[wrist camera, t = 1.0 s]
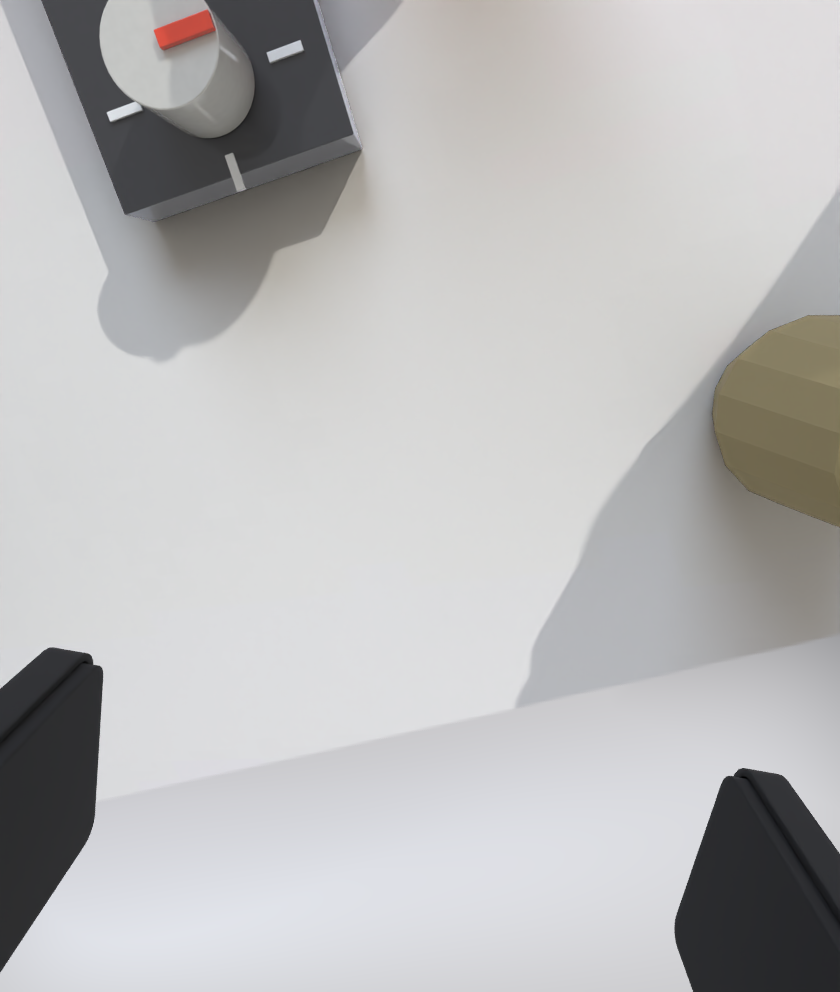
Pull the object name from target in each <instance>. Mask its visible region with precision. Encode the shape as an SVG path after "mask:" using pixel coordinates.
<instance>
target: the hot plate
mask: <svg viewBox="0 0 840 992" xmlns="http://www.w3.org/2000/svg"><path fill="white" fill-rule="evenodd" d="M107 2H108V0H42V3H43V5H44V8H45V11H46V13H47V16H48V18H49V21H50V23H51V26H52V29H53V31H54V34H55V36H56V39H57V41H58V44H59V46H60V49H61V52H62V54H63V57H64V59H65V62H66V64H67V67H68V70H69V72H70V75H71V77H72V80H73V82H74V85H75V88H76V90H77V93H78V95H79V98H80V100H81V103H82V106H83V108H84V111H85V113H86V116H87V118H88V121H89V124H90V126H91V129H92V131H93V134H94V136H95V139H96V141H97V144H98V147H99V149H100V152H101V154H102V157H103V159H104V162H105V165H106V167H107V170H108V172H109V175H110V177H111V180H112V183H113V185H114V188H115V190H116V193H117V195H118V198H119V201H120V203H121V206H122V208H123V211H124V213H125V215H129V216H133V217H137V218H141V219H144V220H148V221H152V222H156V221H159V220H161V219H164V218H167V217H170V216H173V215H176V214H179V213H181V212H184V211H187V210H190V209H193V208H196V207H199V206H201V205H204V204H207V203H210V202H213V201H216V200H219V199H221V198H224V197H227V196H230V195H233V194H236V193H239V192H241V191H244V190H247V189H250V188H253V187H256V186H259V185H262V184H264V183H267V182H270V181H273V180H276V179H279V178H282V177H284V176H287V175H290V174H293V173H296V172H299V171H302V170H304V169H307V168H310V167H313V166H316V165H319V164H322V163H324V162H327V161H330V160H333V159H336V158H339V157H342V156H344V155H347V154H350V153H353V152H356V151H359V150H361V149H362V145H361V141H360V138H359V135H358V132H357V128H356V125H355V122H354V118H353V115H352V112H351V108H350V105H349V102H348V98H347V95H346V92H345V88H344V85H343V82H342V78H341V75H340V72H339V68H338V65H337V62H336V58H335V55H334V52H333V49H332V45H331V42H330V39H329V35H328V32H327V29H326V25H325V22H324V19H323V15H322V12H321V9H320V5H319V2H318V0H205V2H206V3H207V4H208V5H209V6H210V8H211V9H212V10H213V11H214V12H215V14H216V15H217V16H218V17H219V18H220V20H221V21H222V22H223V23H224V25H225V26H226V27H227V28H228V29H229V31H230V32H231V33H232V34H233V35H234V37H235V38H236V39H237V40H238V41H239V43H240V44H241V45H242V47H243V48H244V50H245V51H246V53H247V55H248V57H249V59H250V62H251V64H252V68H253V72H254V79H255V89H254V97H253V102H252V105H251V108H250V110H249V112H248V114H247V116H246V117H245V119H244V120H243V121H242V122H241V123H240V125H239V126H238V127H236V128H235V129H234V130H232V131H231V132H229V133H228V134H225V135H223V136H220V137H216V138H199V137H195V136H192V135H189V134H187V133H185V132H183V131H182V130H180V129H178V128H177V127H175V126H174V125H172V124H170V123H169V122H167V121H165V120H164V119H162V118H161V117H159V116H157V115H156V114H154V113H153V112H151V111H149V110H148V109H146V108H145V107H143V106H141V105H140V104H138V103H137V102H135V101H133V100H132V99H130V98H129V97H128V96H127V95H126V94H124V93H123V92H122V91H121V89H120V88H119V87H118V86H117V85H116V83H115V82H114V81H113V79H112V78H111V76H110V74H109V72H108V70H107V68H106V66H105V63H104V60H103V57H102V52H101V47H100V37H99V36H100V23H101V18H102V14H103V11H104V8H105V6H106V4H107Z"/></svg>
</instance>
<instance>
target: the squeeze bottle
mask: <svg viewBox="0 0 840 992" xmlns="http://www.w3.org/2000/svg"><path fill="white" fill-rule="evenodd" d="M712 416H713V423H714V429H715V434H716V437H717V440H718V443H719V447H720V450H721V453H722V456H723V460H724V463H725V465H726V467H727V468H728V469H729V470H730V471H731V472H732V473H733V474H734V475H735V476H736V478H737V479H738V480H739V481H740V482H741V483H742V484H743V485H744V486H745V487H746V488H747V490H748V491H751V492H753V493H755V494H758V495H760V496H762V497H765V498H767V499H769V500H772V501H774V502H776V503H779V504H781V505H784V506H786V507H789V508H791V509H794V510H796V511H799V512H802V513H804V514H807V515H809V516H812V517H814V518H817V519H820V520H822V521H825V522H827V523H830V524H832V525H835V526H837V527H840V315H808V316H805V317H803V318H800V319H798V320H795V321H793V322H790V323H788V324H785V325H783V326H780V327H778V328H775V329H772V330H770V331H768V332H767V333H766V334H765V335H763V336H762V337H761V338H759V339H758V340H757V341H756V342H754V343H753V344H752V345H751V346H749V347H748V348H747V349H746V350H745V351H743V352H742V353H741V354H740V355H739V356H738V357H737V358H736V359H734V360H733V361H732V362H731V363H730V364H729V365H728V366H727V367H726V369H725V371H724V373H723V375H722V377H721V379H720V381H719V382H718V384H717V386H716V388H715V393H714V402H713V411H712Z"/></svg>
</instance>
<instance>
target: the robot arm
mask: <svg viewBox="0 0 840 992" xmlns="http://www.w3.org/2000/svg"><path fill="white" fill-rule="evenodd" d="M102 686H103V670H102V668H101V667H100V666H97V665H93V659H92V656H91V655H90V654H87V653H82V652H76V651H70V650H64V649H59V648H48V649H46V650H44V651H43V652H42V653H41V654H40V655H39V656H37V657H36V658H35V659H34V660H33V661H32V662H31V663H29V664H28V665H27V666H26V667H25V668H24V669H22V670H21V671H20V672H19V673H18V674H17V675H16V676H14V677H13V678H12V679H11V680H10V681H9V682H8V683H6V684H5V685H4V686H3V687H2V688H1V689H0V972H1V970H2V969H3V967H4V966H5V964H6V963H7V961H8V960H9V958H10V957H11V955H12V954H13V952H14V951H15V949H16V948H17V946H18V945H19V943H20V942H21V940H22V939H23V937H24V936H25V934H26V933H27V931H28V930H29V928H30V927H31V925H32V924H33V922H34V921H35V919H36V918H37V916H38V915H39V913H40V912H41V910H42V909H43V907H44V906H45V904H46V903H47V901H48V900H49V898H50V897H51V895H52V893H53V892H54V890H55V889H56V888H57V886H58V884H59V883H60V881H61V880H62V878H63V877H64V875H65V874H66V872H67V871H68V869H69V868H70V866H71V865H72V863H73V862H74V860H75V859H76V857H77V856H78V854H79V853H80V851H81V850H82V848H83V847H84V845H85V843H86V842H87V840H88V838H89V835H90V833H91V830H92V827H93V823H94V817H95V803H96V786H97V770H98V753H99V736H100V720H101V703H102ZM675 939H676V944H677V948H678V951H679V953H680V956H681V959H682V962H683V965H684V967H685V970H686V973H687V976H688V978H689V981H690V984H691V987H692V990H693V992H840V854H839V852H838V851H837V849H836V848H835V847H834V845H833V844H832V842H831V841H830V840H829V838H828V837H827V836H826V834H825V833H824V831H823V830H822V828H821V827H820V826H819V824H818V823H817V821H816V820H815V819H814V817H813V816H812V814H811V813H810V811H809V810H808V809H807V807H806V806H805V805H804V803H803V802H802V800H801V799H800V797H799V796H798V795H797V793H796V792H795V790H794V789H793V788H792V786H791V785H790V783H789V782H788V781H787V780H786V779H785V778H784V777H783V776H782V775H779V774H774V773H768V772H763V771H757V770H751V769H745V768H742V769H739V770H738V771H737V772H736V773H735V774H734V776H727V777H726V778H725V779H724V780H723V782H722V784H721V786H720V789H719V792H718V795H717V798H716V801H715V804H714V807H713V810H712V813H711V816H710V819H709V821H708V824H707V827H706V830H705V833H704V836H703V839H702V842H701V845H700V848H699V851H698V854H697V856H696V859H695V862H694V865H693V869H692V871H691V874H690V877H689V880H688V883H687V886H686V889H685V892H684V895H683V898H682V900H681V903H680V906H679V909H678V912H677V915H676V919H675Z"/></svg>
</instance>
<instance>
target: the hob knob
mask: <svg viewBox="0 0 840 992" xmlns="http://www.w3.org/2000/svg"><path fill="white" fill-rule="evenodd" d="M99 37H100V47H101V52H102V57H103V60H104V63H105V66H106V68H107V70H108V72H109V74H110V76H111V78H112V79H113V81H114V82H115V83H116V85H117V86H118V87H119V88H120V89H121V91H122V92H123V93H124V94H126V95H127V96H128V97H129V98H130V99H132V100H133V101H135V102H137V103H138V104H140V105H141V106H143V107H145V108H146V109H148V110H149V111H151V112H153V113H154V114H156V115H157V116H159V117H161V118H162V119H164V120H165V121H167V122H169V123H170V124H172V125H174V126H175V127H177V128H178V129H180V130H182V131H183V132H185V133H187V134H189V135H192V136H195V137H199V138H216V137H220V136H223V135H225V134H228V133H229V132H231V131H232V130H234V129H235V128H236V127H238V126H239V125H240V123H241V122H242V121H243V120H244V119H245V117H246V116H247V114H248V112H249V110H250V108H251V105H252V102H253V97H254V89H255V79H254V72H253V68H252V64H251V62H250V59H249V57H248V55H247V53H246V51H245V50H244V48H243V47H242V45H241V44H240V43H239V41H238V40H237V39H236V38H235V37H234V35H233V34H232V33H231V32H230V31H229V29H228V28H227V27H226V26H225V25H224V23H223V22H222V21H221V20H220V18H219V17H218V16H217V15H216V14H215V12H214V11H213V10H212V9H211V8H210V6H209V5H208V4H207V3H206V2H205V0H108V2H107V4H106V6H105V8H104V11H103V14H102V18H101V23H100V36H99Z"/></svg>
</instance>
